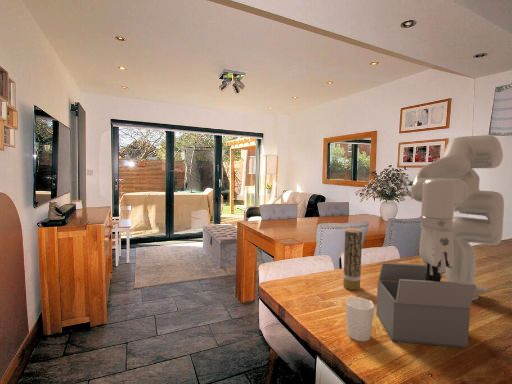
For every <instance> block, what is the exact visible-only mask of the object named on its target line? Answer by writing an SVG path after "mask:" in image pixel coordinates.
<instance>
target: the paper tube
mask: <svg viewBox="0 0 512 384" xmlns="http://www.w3.org/2000/svg"><path fill="white" fill-rule="evenodd" d="M362 245H363V229H361V228H357V227H346V228H345V229H344V252H343V253H344V255H343V257H344V258H343V279H342V280H343V287H344V288H345V289H347V290H351V291H357V290H359V289H360V288H361V275H362V273H361V269H362V250H363V249H362Z"/></svg>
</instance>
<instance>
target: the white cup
mask: <svg viewBox="0 0 512 384" xmlns="http://www.w3.org/2000/svg"><path fill="white" fill-rule="evenodd" d="M345 300H346V301H345V306H346V307H345V317H346V319H345V321H346V322H345V323H346V334H347V336H348V337H349V338H351V339H352V340H354V341H357V342H368V341H369V340H370V339H371V338H372V337H371V336H372V330H373V321H374V310H375V309H374V308H375V304H374V302H373V301H371V300H370V299H366V298H364V297H359V296H358V297H356V296H355V297H353V296H352V297H348V298H346V299H345Z"/></svg>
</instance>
